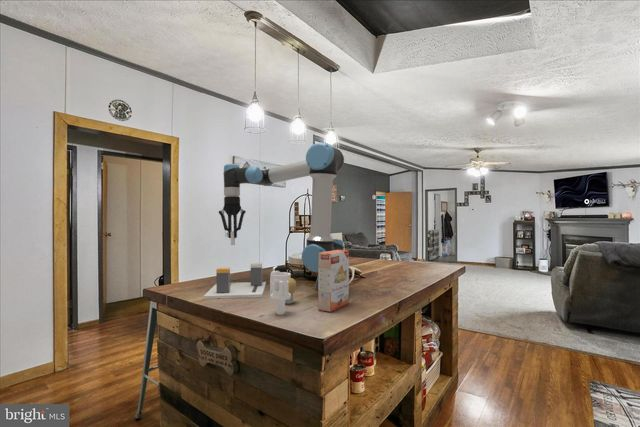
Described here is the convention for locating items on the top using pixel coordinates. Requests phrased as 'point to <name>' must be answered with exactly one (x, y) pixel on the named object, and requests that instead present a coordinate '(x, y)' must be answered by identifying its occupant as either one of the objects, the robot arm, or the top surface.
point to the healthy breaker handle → (256, 274)
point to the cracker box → (333, 280)
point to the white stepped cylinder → (280, 290)
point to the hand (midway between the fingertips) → (232, 244)
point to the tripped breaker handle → (223, 280)
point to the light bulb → (291, 289)
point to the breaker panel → (237, 291)
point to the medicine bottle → (277, 268)
